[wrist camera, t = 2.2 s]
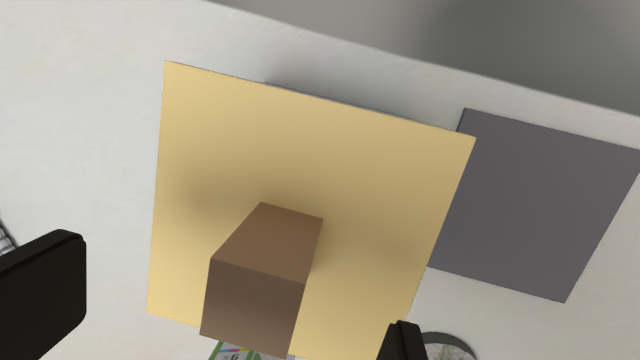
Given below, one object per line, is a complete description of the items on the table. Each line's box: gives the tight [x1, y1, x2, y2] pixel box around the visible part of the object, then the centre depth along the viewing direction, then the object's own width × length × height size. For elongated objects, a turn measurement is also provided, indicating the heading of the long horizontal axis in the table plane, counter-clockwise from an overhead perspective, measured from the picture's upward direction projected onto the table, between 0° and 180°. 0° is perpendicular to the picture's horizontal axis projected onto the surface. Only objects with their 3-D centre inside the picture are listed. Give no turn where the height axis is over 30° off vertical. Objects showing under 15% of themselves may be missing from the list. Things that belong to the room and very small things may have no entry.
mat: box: [427, 108, 640, 303], centre depth 26 cm, size 14×14×1 cm
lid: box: [146, 61, 476, 360], centre depth 13 cm, size 13×13×6 cm
